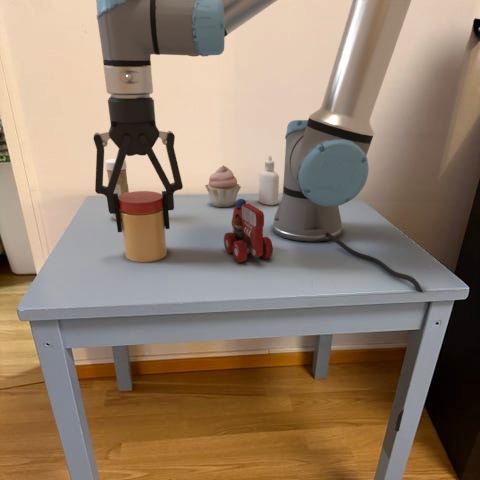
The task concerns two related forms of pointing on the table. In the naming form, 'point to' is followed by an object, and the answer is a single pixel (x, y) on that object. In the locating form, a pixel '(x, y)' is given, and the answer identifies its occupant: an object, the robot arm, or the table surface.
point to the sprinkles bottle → (122, 180)
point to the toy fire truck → (247, 233)
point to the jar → (144, 235)
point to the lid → (140, 202)
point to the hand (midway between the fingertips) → (143, 228)
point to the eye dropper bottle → (268, 184)
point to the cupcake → (222, 188)
